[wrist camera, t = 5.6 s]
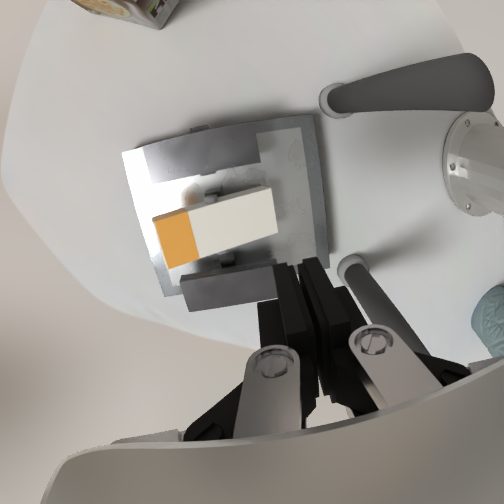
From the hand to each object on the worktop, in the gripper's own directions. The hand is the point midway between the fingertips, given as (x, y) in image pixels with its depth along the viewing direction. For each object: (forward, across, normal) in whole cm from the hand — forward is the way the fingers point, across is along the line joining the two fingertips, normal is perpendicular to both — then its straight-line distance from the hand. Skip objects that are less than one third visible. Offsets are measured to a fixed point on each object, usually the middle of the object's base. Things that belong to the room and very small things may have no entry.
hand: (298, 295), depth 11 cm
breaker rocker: (+12, +4, 0) cm, 12 cm away
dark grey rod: (+18, -8, +10) cm, 21 cm away
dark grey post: (+18, -8, -7) cm, 21 cm away
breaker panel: (+17, +3, 0) cm, 18 cm away
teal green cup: (+18, -32, +23) cm, 44 cm away
